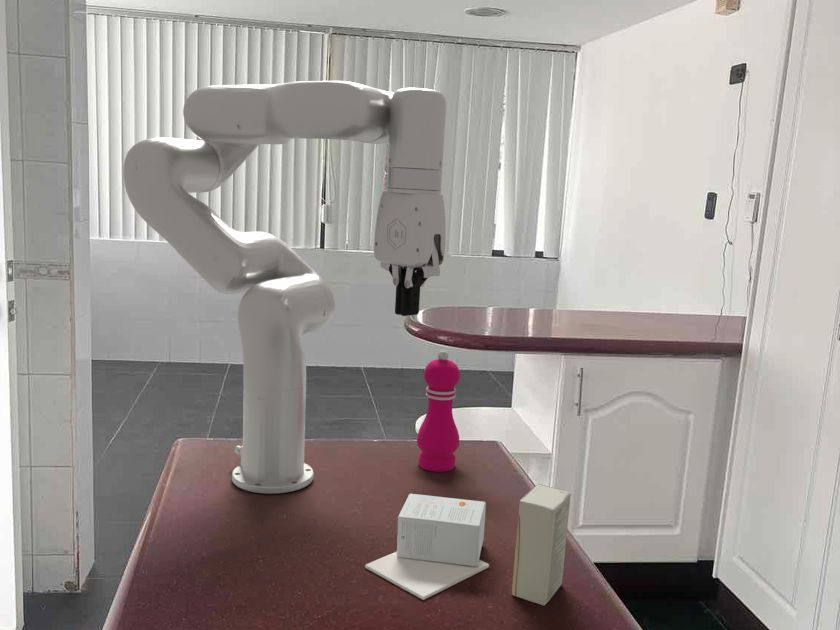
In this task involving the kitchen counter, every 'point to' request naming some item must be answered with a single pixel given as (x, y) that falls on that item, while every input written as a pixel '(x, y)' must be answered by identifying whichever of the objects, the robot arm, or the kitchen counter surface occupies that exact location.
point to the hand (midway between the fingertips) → (406, 314)
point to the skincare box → (540, 543)
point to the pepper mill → (439, 416)
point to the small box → (441, 529)
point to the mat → (422, 573)
